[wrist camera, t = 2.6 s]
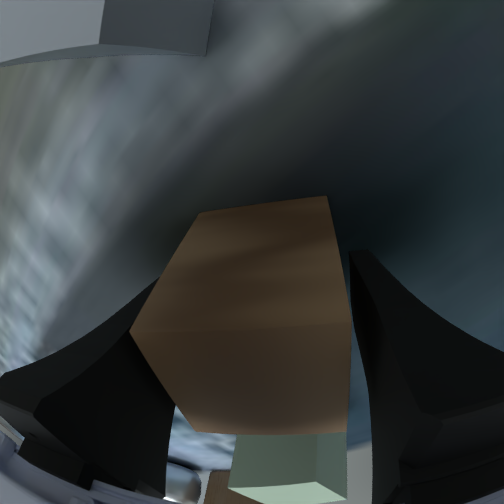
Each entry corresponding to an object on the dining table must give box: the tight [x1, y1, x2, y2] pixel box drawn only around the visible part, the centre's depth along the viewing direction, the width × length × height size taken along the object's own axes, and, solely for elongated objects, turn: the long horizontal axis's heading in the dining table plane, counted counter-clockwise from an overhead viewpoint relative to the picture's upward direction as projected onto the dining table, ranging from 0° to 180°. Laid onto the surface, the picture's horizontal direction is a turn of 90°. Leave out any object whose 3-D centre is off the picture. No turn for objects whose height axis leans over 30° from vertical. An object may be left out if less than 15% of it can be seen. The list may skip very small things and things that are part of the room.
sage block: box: [228, 432, 347, 504], centre depth 15 cm, size 4×4×6 cm
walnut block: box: [129, 195, 352, 435], centre depth 9 cm, size 4×4×6 cm
